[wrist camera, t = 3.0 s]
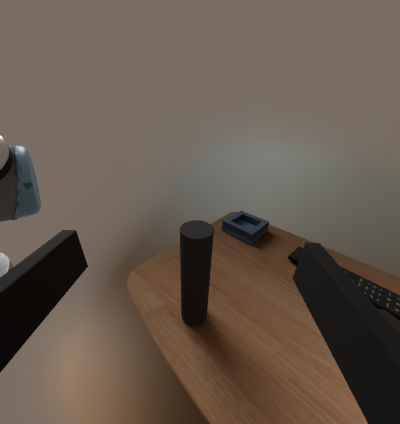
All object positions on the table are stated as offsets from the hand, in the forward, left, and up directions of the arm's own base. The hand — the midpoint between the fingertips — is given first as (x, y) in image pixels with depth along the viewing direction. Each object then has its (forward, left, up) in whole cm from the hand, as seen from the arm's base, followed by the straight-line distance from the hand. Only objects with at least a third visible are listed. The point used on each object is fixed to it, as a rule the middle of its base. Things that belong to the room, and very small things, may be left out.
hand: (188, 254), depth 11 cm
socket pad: (-6, +37, -20) cm, 42 cm away
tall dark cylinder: (-5, +9, -20) cm, 23 cm away
